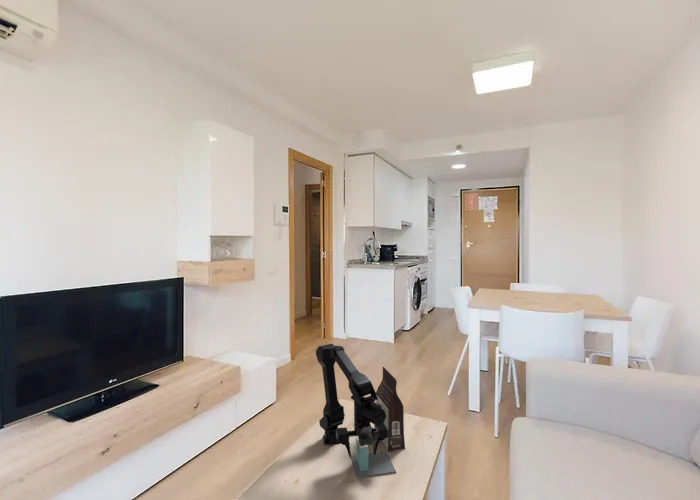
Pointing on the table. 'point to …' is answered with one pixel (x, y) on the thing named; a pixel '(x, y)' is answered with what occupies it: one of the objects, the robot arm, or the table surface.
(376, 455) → the mat
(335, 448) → the table surface
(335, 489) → the table surface
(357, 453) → the slab
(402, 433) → the protein powder
